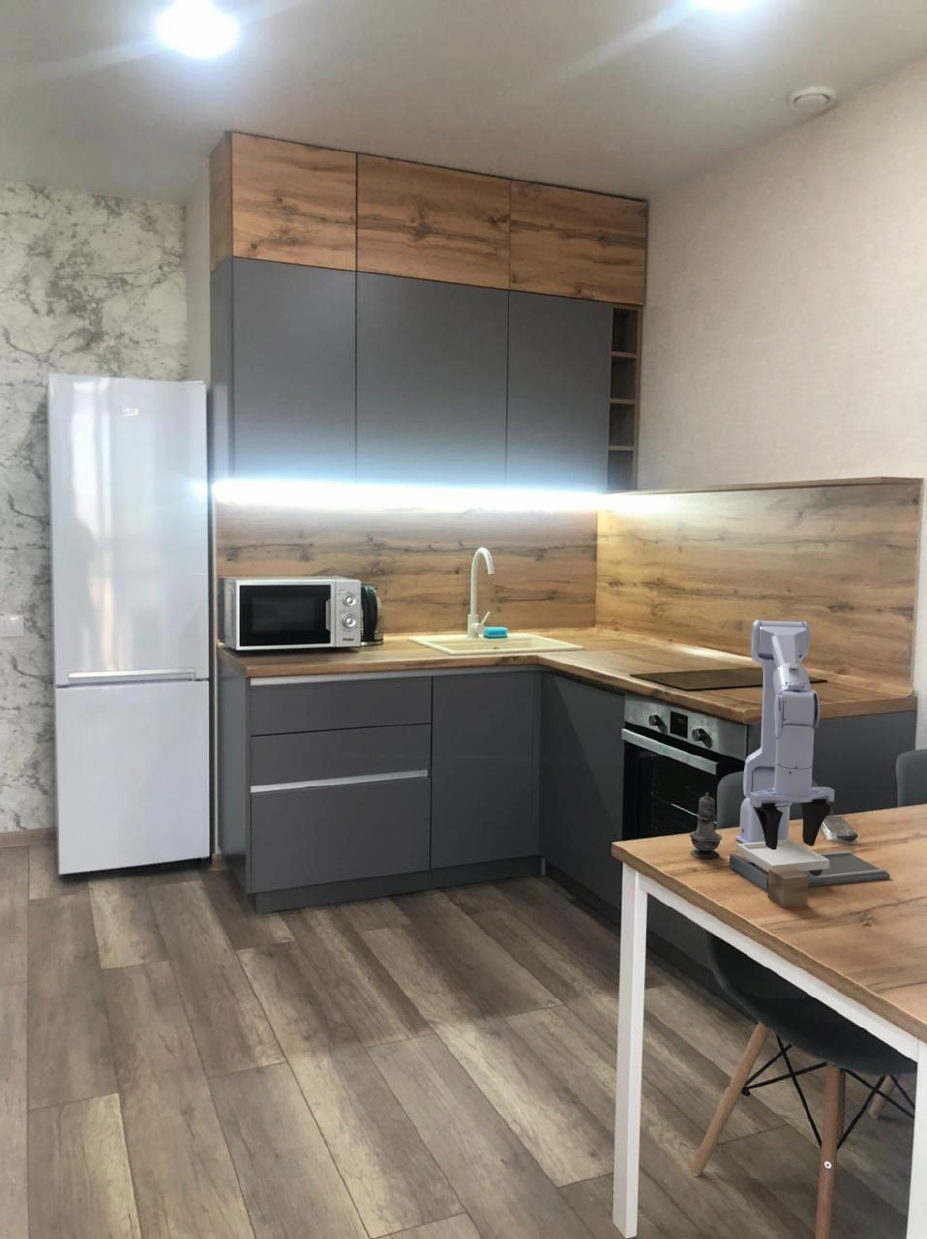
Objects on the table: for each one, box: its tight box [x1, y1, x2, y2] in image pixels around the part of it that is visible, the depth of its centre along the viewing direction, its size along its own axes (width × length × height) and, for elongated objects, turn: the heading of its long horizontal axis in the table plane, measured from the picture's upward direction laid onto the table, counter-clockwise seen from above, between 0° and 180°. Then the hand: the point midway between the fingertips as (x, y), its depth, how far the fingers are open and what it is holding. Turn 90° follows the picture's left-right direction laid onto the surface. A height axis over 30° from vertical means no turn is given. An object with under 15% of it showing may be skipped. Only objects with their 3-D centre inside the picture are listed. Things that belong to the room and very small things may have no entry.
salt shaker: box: [689, 791, 723, 860], centre depth 186 cm, size 6×6×12 cm
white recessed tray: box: [736, 838, 829, 876], centre depth 176 cm, size 11×11×3 cm
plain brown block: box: [767, 867, 809, 908], centre depth 165 cm, size 4×4×5 cm
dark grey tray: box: [728, 850, 891, 893], centre depth 178 cm, size 12×24×2 cm, turn 106°
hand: (789, 846), depth 164 cm, fingers open, 6 cm apart
